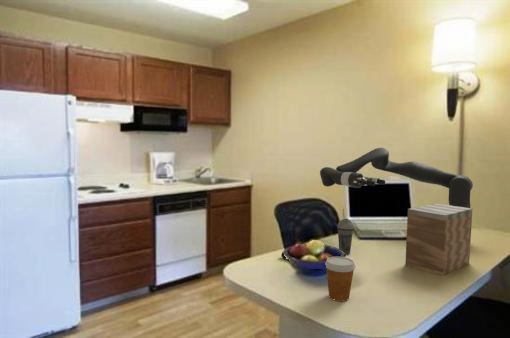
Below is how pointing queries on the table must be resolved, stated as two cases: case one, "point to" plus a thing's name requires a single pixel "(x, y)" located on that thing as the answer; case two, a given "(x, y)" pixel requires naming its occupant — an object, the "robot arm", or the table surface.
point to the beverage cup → (345, 235)
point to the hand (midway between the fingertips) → (379, 182)
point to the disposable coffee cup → (339, 277)
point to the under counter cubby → (438, 237)
